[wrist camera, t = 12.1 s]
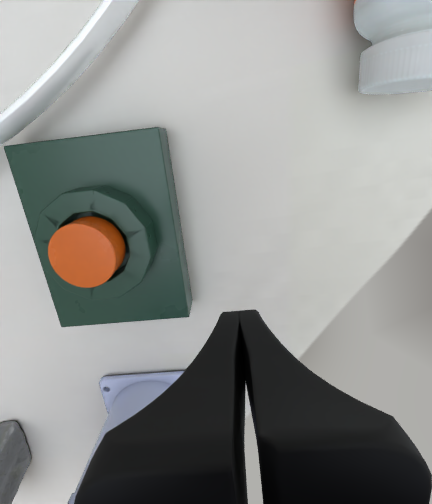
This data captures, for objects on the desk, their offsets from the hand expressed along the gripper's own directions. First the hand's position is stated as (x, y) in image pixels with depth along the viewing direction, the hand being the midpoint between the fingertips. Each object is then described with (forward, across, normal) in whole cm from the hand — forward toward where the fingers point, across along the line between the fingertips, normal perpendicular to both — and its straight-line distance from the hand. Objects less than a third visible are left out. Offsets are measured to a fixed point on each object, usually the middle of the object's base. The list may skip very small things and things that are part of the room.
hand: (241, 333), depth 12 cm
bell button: (+7, +8, -2) cm, 11 cm away
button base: (+10, +8, -2) cm, 13 cm away
